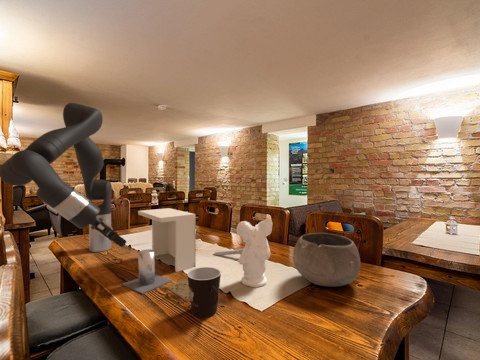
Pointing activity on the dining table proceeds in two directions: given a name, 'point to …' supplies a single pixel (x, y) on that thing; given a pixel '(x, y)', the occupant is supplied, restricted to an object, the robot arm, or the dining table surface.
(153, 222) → the white c-shaped side table
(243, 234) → the cherub figurine
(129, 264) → the dining table surface
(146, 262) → the pale cylinder
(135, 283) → the rubber mat
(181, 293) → the cookie
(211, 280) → the coffee mug
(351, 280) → the clay pot
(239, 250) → the caliper
